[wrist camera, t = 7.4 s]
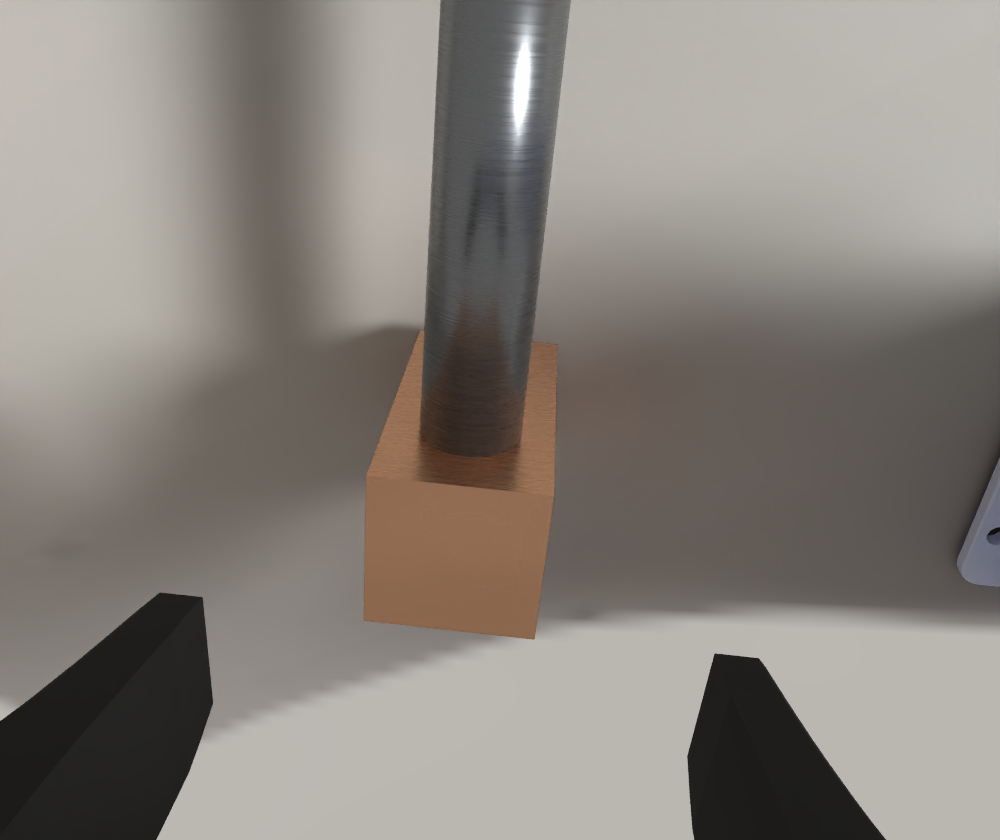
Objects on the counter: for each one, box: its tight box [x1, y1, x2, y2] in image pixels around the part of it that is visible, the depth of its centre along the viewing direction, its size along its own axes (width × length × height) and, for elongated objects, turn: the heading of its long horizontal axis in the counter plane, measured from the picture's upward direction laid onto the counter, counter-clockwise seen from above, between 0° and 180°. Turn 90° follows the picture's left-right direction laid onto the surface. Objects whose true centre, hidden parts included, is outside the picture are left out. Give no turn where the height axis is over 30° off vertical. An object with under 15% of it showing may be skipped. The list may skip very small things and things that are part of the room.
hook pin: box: [364, 0, 571, 639], centre depth 15 cm, size 13×3×6 cm, turn 175°
